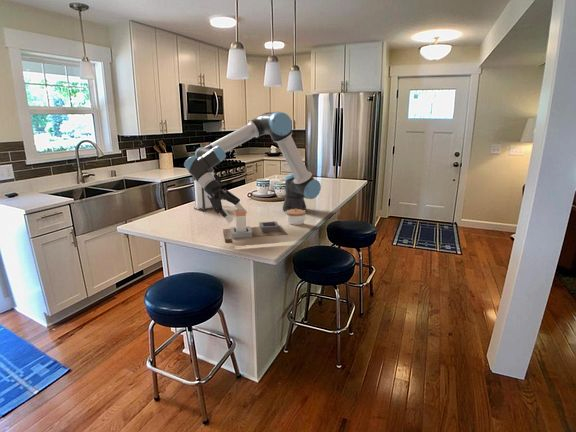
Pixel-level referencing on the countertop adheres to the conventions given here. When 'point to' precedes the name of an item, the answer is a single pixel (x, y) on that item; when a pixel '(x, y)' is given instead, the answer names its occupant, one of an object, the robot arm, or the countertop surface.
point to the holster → (269, 226)
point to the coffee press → (203, 193)
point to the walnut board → (254, 233)
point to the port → (241, 233)
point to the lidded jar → (295, 216)
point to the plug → (240, 220)
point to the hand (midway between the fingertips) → (238, 217)
